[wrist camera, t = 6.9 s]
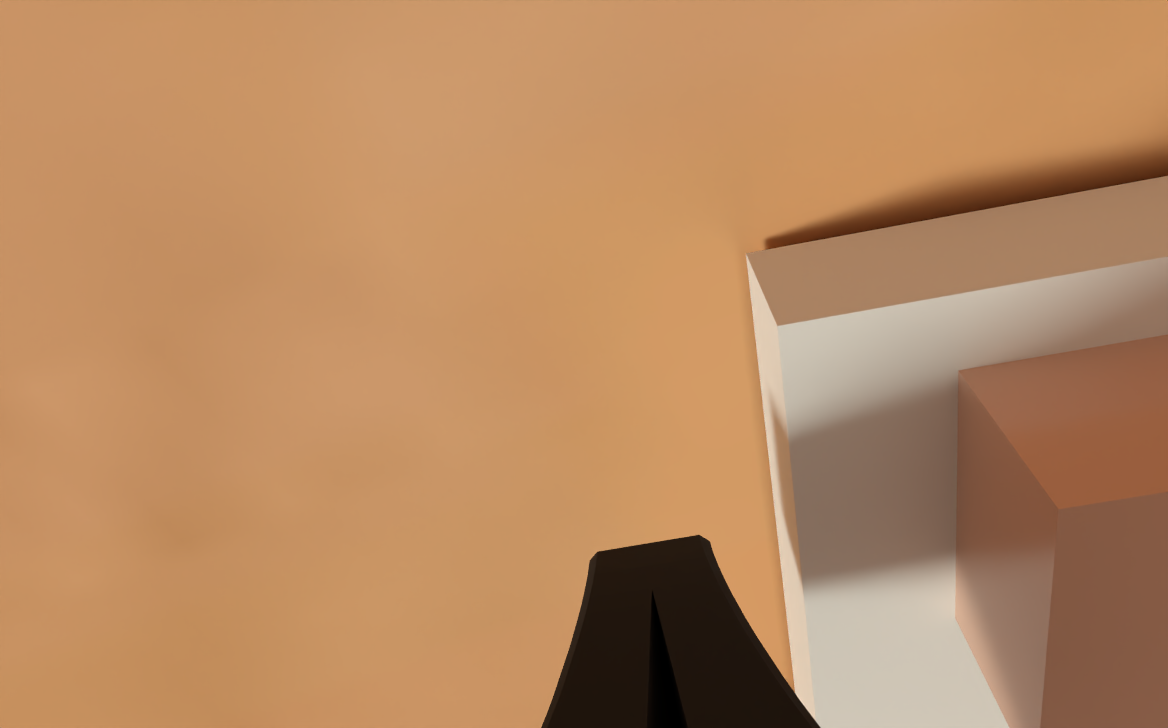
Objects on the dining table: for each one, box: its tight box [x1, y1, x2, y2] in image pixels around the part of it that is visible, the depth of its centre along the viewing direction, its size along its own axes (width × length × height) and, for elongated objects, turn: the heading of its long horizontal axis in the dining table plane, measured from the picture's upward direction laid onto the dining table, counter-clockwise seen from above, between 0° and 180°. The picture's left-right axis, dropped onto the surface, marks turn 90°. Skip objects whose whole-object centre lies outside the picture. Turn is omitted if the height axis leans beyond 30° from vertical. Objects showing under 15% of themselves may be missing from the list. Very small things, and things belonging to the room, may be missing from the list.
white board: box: [746, 176, 1168, 728], centre depth 14 cm, size 11×9×2 cm
